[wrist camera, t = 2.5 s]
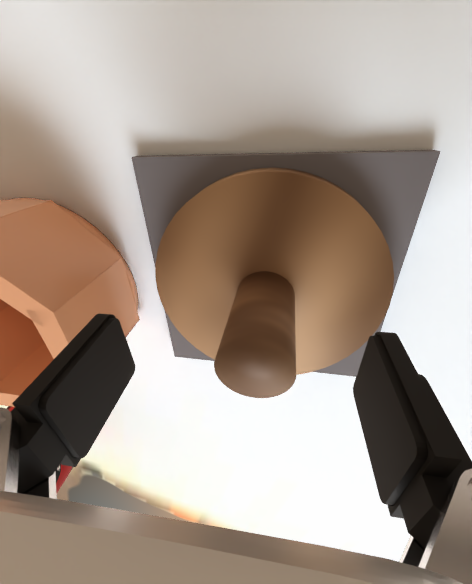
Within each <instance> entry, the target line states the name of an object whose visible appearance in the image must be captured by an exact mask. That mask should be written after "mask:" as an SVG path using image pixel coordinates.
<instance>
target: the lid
mask: <svg viewBox="0 0 472 584" xmlns="http://www.w3.org/2000/svg"><path fill="white" fill-rule="evenodd" d="M156 282H157V289H158V293H159V296H160V299H161V302H162V304H163V307H164V309H165V311H166V313H167V315H168V317H169V318H170V320H171V322H172V323H173V324H174V326H175V327H176V328H177V330H178V331H179V332H180V333H181V334H182V335H183V336H184V337H185V338H186V340H187V341H189V342H190V343H191V344H192V345H193V346H194V347H196V348H197V349H198V350H200V351H201V352H203V353H204V354H205V355H207V356H209V357H211V358H212V359H214V360H215V362H214V368H215V372H216V374H217V376H218V378H219V379H220V380H221V382H222V383H223V384H224V385H226V386H227V387H228V388H230V389H231V390H233V391H235V392H237V393H239V394H242V395H245V396H249V397H255V398H269V397H274V396H278V395H280V394H282V393H284V392H286V391H287V390H288V389H290V388H291V386H292V385H293V384H294V382H295V379H296V375H297V374H303V373H308V372H313V371H316V370H319V369H323V368H326V367H328V366H330V365H333V364H335V363H337V362H339V361H341V360H343V359H344V358H346V357H348V356H349V355H351V354H352V353H354V352H355V351H356V350H358V349H359V348H360V347H361V346H362V345H363V344H364V343H366V342H367V341H368V339H369V337H370V336H372V335H373V334H374V333H375V331H376V330H377V329H378V327H379V325H380V324H381V322H382V321H383V319H384V317H385V315H386V312H387V310H388V308H389V305H390V301H391V297H392V293H393V285H394V270H393V261H392V257H391V254H390V250H389V246H388V244H387V242H386V240H385V238H384V236H383V234H382V232H381V230H380V229H379V227H378V226H377V224H376V223H375V221H374V220H373V218H372V217H371V216H370V215H369V213H368V212H367V211H366V210H365V209H364V208H363V207H362V206H361V205H360V204H359V202H358V201H357V200H356V199H355V198H354V197H352V196H351V195H350V194H348V193H347V192H346V191H345V190H343V189H342V188H341V187H339V186H337V185H335V184H333V183H332V182H330V181H328V180H326V179H324V178H322V177H319V176H316V175H313V174H311V173H308V172H303V171H299V170H294V169H288V168H272V167H271V168H259V169H251V170H247V171H242V172H238V173H235V174H232V175H229V176H227V177H224V178H222V179H220V180H218V181H216V182H214V183H212V184H211V185H209V186H207V187H206V188H204V189H203V190H202V191H201V192H199V193H198V194H197V195H195V196H194V197H193V198H192V199H190V200H189V201H188V202H186V203H185V205H184V206H183V207H182V208H181V209H180V210H179V211H178V212H177V213H176V214H175V216H174V217H173V219H172V220H171V221H170V223H169V224H168V226H167V228H166V230H165V232H164V234H163V236H162V238H161V241H160V245H159V248H158V251H157V258H156Z"/></svg>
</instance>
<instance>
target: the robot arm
mask: <svg viewBox="0 0 472 584" xmlns="http://www.w3.org/2000/svg"><path fill="white" fill-rule="evenodd" d="M134 371H135V364H134V361H133V358H132V355H131V352H130V349H129V346H128V344H127V341H126V338H125V335H124V332H123V329H122V327H121V324H120V321H119V319H117V318H116V317H115V316H114V315H113V314H100V313H99V314H96V315H95V316H94V317H93V318H92V319H91V320H90V321H89V322H88V324H87V325H86V326H85V327H84V328H83V329H82V330H81V331H80V332H79V333H78V334H77V335H76V336H75V337H74V338H73V339H72V340H71V342H70V343H69V344H68V345H67V346H66V347H65V348H64V349H63V350H62V351H61V352H60V353H59V354H58V355H57V356H56V357H55V359H54V360H53V361H52V362H51V363H50V364H49V365H48V366H47V367H46V368H45V369H44V370H43V371H42V372H41V373H40V374H39V375H38V377H37V378H36V379H35V380H34V381H33V382H32V383H31V384H30V385H29V386H28V387H27V388H26V389H25V390H24V391H23V392H22V394H21V395H20V396H19V397H18V398H17V399H16V400H15V401H14V402H13V403H12V404H13V405H14V409H13V410H12V411H11V412H10V411H9V410H8V409H5V408H0V584H472V461H471V459H470V458H469V456H468V454H467V452H466V450H465V449H464V447H463V445H462V443H461V441H460V439H459V438H458V436H457V434H456V432H455V430H454V428H453V427H452V425H451V423H450V421H449V419H448V418H447V416H446V414H445V412H444V410H443V408H442V407H441V405H440V403H439V401H438V399H437V397H436V396H435V394H434V392H433V390H432V388H431V387H430V385H429V383H428V381H427V380H426V378H425V377H424V376H422V375H420V374H418V373H417V371H416V370H415V368H414V366H413V364H412V362H411V360H410V358H409V356H408V354H407V352H406V350H405V349H404V347H403V345H402V343H401V341H400V339H399V337H398V336H397V334H395V333H387V332H376V333H375V335H374V336H370V337H369V339H368V342H367V345H366V348H365V351H364V355H363V358H362V361H361V364H360V367H359V370H358V374H357V377H356V380H355V383H354V387H353V393H354V398H355V402H356V406H357V410H358V414H359V418H360V421H361V425H362V429H363V433H364V437H365V441H366V445H367V449H368V453H369V457H370V461H371V464H372V468H373V472H374V476H375V480H376V484H377V488H378V492H379V496H380V499H381V501H382V502H383V503H384V504H388V508H389V512H390V515H391V516H392V517H398V518H404V520H405V523H406V527H407V530H408V533H409V534H410V535H411V536H410V538H409V541H408V543H407V545H406V547H405V550H404V552H403V554H402V556H401V558H400V561H399V562H397V561H393V560H389V559H385V558H380V557H375V556H370V555H365V554H360V553H355V552H350V551H345V550H340V549H335V548H330V547H325V546H320V545H314V544H309V543H303V542H298V541H292V540H287V539H281V538H276V537H270V536H265V535H259V534H254V533H248V532H243V531H237V530H232V529H226V528H220V527H215V526H209V525H204V524H198V523H192V522H186V521H181V520H175V519H169V518H164V517H158V516H153V515H147V514H141V513H135V512H130V511H124V510H118V509H112V508H106V507H101V506H94V505H89V504H83V503H77V502H71V501H66V500H60V499H57V498H56V474H55V471H56V469H57V468H58V466H59V465H60V464H61V465H66V466H72V467H76V466H77V464H78V462H79V461H80V459H81V458H83V457H85V456H86V455H87V453H88V452H89V450H90V448H91V446H92V445H93V443H94V441H95V440H96V438H97V436H98V434H99V433H100V431H101V429H102V427H103V426H104V424H105V422H106V421H107V419H108V417H109V415H110V414H111V412H112V410H113V408H114V407H115V405H116V403H117V402H118V400H119V398H120V396H121V395H122V393H123V391H124V389H125V388H126V386H127V384H128V383H129V381H130V379H131V377H132V376H133V374H134Z"/></svg>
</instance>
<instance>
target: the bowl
mask: <svg viewBox="0 0 472 584" xmlns="http://www.w3.org/2000/svg"><path fill="white" fill-rule="evenodd" d="M137 310H138V294H137V289H136V285H135V282H134V279H133V276H132V274H131V272H130V270H129V268H128V266H127V264H126V262H125V261H124V259H123V257H122V256H121V254H120V253H119V252H118V251H117V249H116V248H115V247H114V245H113V244H112V243H111V242H110V241H109V240H108V239H107V238H106V237H105V236H104V235H103V234H102V233H101V232H100V231H99V230H98V229H97V228H96V227H94V226H93V225H92V224H90V223H89V222H88V221H86V220H85V219H84V218H82V217H81V216H79V215H77V214H76V213H74V212H72V211H70V210H68V209H66V208H64V207H62V206H60V205H57V204H55V203H54V202H53V201H52V200H41V199H36V198H25V197H24V198H13V199H10V200H0V405H5V406H12V407H14V405H13V404H12V403H13V402H14V401H15V400H16V399H17V398H18V397H19V396H20V395H21V394H22V392H23V391H24V390H25V389H26V388H27V387H28V386H29V385H30V384H31V383H32V382H33V381H34V380H35V379H36V378H37V377H38V375H39V374H40V373H41V372H42V371H43V370H44V369H45V368H46V367H47V366H48V365H49V364H50V363H51V362H52V361H53V360H54V359H55V357H56V356H57V355H58V354H59V353H60V352H61V351H62V350H63V349H64V348H65V347H66V346H67V345H68V344H69V343H70V342H71V340H72V339H73V338H74V337H75V336H76V335H77V334H78V333H79V332H80V331H81V330H82V329H83V328H84V327H85V326H86V325H87V324H88V322H89V321H90V320H91V319H92V318H93V317H94V316H95V315H96V314H99V313H100V314H113V315H114V316H115V317H116V318H117V319H119V321H120V324H121V327H122V329H123V332H124V335H125V338H126V336H127V335H128V334H129V332H130V331H131V330H132V329H133V327H134V326H135V325H136V323H137V322H138V321H139V316H138V313H137Z"/></svg>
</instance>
